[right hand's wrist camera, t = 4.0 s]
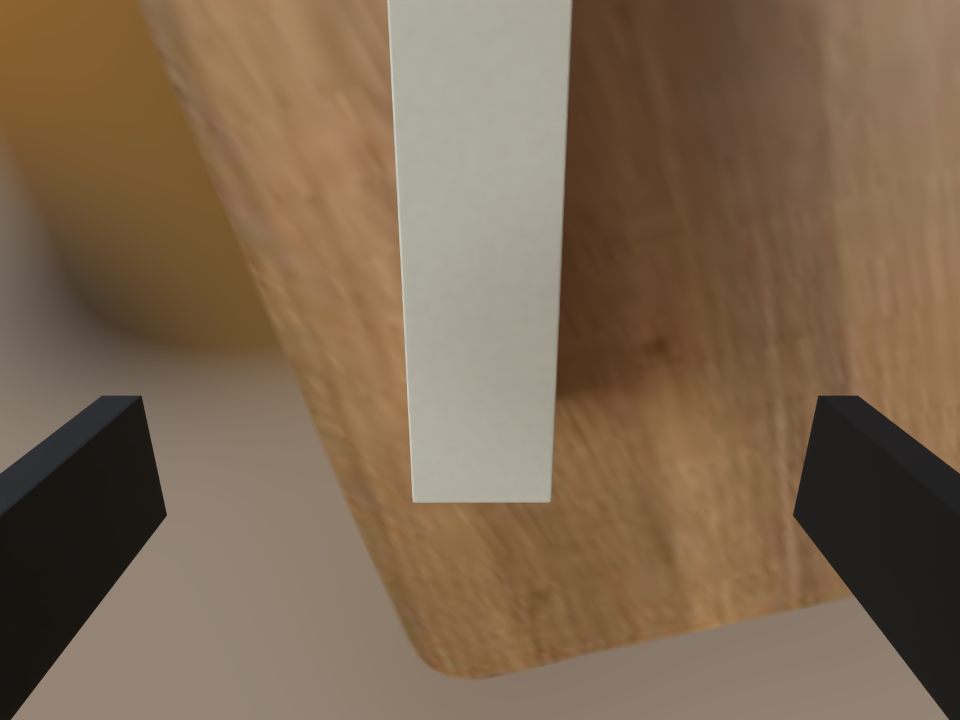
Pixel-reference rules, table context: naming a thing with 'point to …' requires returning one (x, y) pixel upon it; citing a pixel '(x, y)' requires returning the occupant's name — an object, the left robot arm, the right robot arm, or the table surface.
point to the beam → (481, 239)
